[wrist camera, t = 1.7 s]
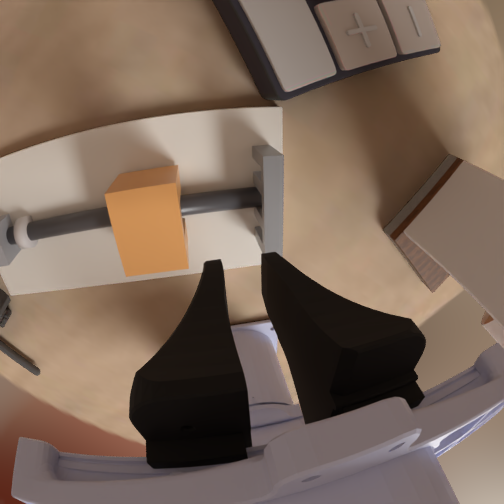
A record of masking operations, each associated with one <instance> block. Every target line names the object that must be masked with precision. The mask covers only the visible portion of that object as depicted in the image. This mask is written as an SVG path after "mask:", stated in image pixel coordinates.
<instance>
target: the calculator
mask: <svg viewBox="0 0 504 504" xmlns="http://www.w3.org/2000/svg"><path fill="white" fill-rule="evenodd" d="M212 1H213V3H214V4H215V6H216V8H217V10H218V11H219V13H220V15H221V17H222V19H223V21H224V22H225V24H226V26H227V28H228V30H229V32H230V34H231V36H232V38H233V40H234V41H235V43H236V45H237V47H238V49H239V51H240V53H241V55H242V57H243V59H244V61H245V63H246V65H247V67H248V69H249V71H250V73H251V75H252V77H253V80H254V82H255V84H256V86H257V88H258V90H259V92H260V94H261V96H262V97H263V98H264V99H266V100H282V101H284V100H288V99H290V98H293V97H295V96H298V95H300V94H303V93H305V92H308V91H310V90H313V89H316V88H318V87H321V86H324V85H326V84H329V83H332V82H335V81H338V80H341V79H343V78H346V77H349V76H352V75H356V74H359V73H362V72H365V71H368V70H372V69H375V68H378V67H382V66H385V65H389V64H392V63H396V62H400V61H404V60H408V59H412V58H416V57H420V56H425V55H429V54H434V53H438V52H439V51H440V46H441V44H440V40H439V37H438V34H437V31H436V28H435V25H434V22H433V20H432V17H431V14H430V12H429V9H428V6H427V4H426V1H425V0H212Z"/></svg>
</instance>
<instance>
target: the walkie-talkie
mask: <svg viewBox="0 0 504 504" xmlns="http://www.w3.org/2000/svg"><path fill="white" fill-rule="evenodd" d="M9 302H10V298H9V296H8V295H7V294H6V293H5V292H4V291H3V290H1V289H0V326H1V327H4V326H5V324H6V322H7V320H8V319H9V317H10V315H11V310H9V309H8V310H6V307H7V306H8V304H9ZM0 350H1V351H2V352H4V353H5V354H6V355H8V356H9V357H10V358H12V359H13V360H14V361H16V362H17V363H19V364H20V365H21V366H23V367H24V368H26V369H27V370H28V371H30V372H31V373H33V374H34V375H39V374H40V369H39V368H38V367H36V366H35V365H33V364H32V363H30V362H29V361H28V360H26V359H25V358H23V357H22V356H21V355H19V354H18V353H16V352H15V351H14V350H12V349H11V348H10V347H9V346H7V345H6V344H5V343H3V342H2V341H1V340H0Z"/></svg>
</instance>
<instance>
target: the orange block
mask: <svg viewBox="0 0 504 504" xmlns="http://www.w3.org/2000/svg"><path fill="white" fill-rule="evenodd" d="M104 195H105V200H106V204H107V208H108V213H109V217H110V221H111V225H112V229H113V233H114V237H115V240H116V244H117V248H118V251H119V255H120V258H121V262H122V265H123V268H124V272H125V275H126V277H128V276H136V275H144V274H152V273H159V272H167V271H175V270H182V269H189V257H188V235H187V228H186V222H185V218H182V215H181V208H180V195H181V184H180V176H179V168H178V165H173V166H166V167H159V168H153V169H146V170H140V171H134V172H128V173H123V174H119V175H118V176H117V178H116V179H115V180H114V182H113V183H112V184H111V186H110V187H109V188H108V190H107V191H106V192H105V194H104Z"/></svg>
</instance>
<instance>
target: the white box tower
mask: <svg viewBox="0 0 504 504" xmlns="http://www.w3.org/2000/svg"><path fill="white" fill-rule="evenodd" d="M383 231H384V232H385V233H386V235H387V236H388V237H389V238H390V240H391V241H392V242H393V243H394V245H395V246H396V247H397V249H398V250H399V251H400V252H401V254H402V255H403V256H404V258H405V259H406V260H407V262H408V263H409V264H410V266H411V267H412V268H413V270H414V271H415V272H416V274H417V275H418V276H419V278H420V279H421V281H422V282H423V283H424V284H425V285H426V286H427V287H428V288H429V289H430V291H431V292H432V293H433V292H434V291H435V290H436V289H437V288H438V287H439V286H440V285H441V284H442V283H443V282H444V281H445V279H446V278H447V277H448V276H449V275H451V276H452V277H453V278H454V279H455V280H456V281H457V282H458V283H459V284H460V285H461V286H462V287H463V288H464V289H465V290H466V291H467V292H468V293H469V294H470V295H471V296H472V297H473V298H474V299H475V300H476V301H477V302H478V303H479V304H480V305H481V306H482V307H483V308H484V309H485V313H484V315H483V318H482V322H481V324H482V325H483V327H484V328H485V329H486V330H487V331H488V332H489V333H490V335H491V336H492V337H493V338H494V339H495V340H496V342H497V343H499V344H500V345H501V346H502V347H503V349H504V180H503V179H501V178H499V177H497V176H495V175H493V174H491V173H489V172H487V171H485V170H483V169H481V168H479V167H477V166H475V165H473V164H471V163H468V162H466V161H464V160H462V159H460V158H457V157H455V156H453V155H450V154H449V155H448V156H447V158H446V159H445V160H444V161H443V162H442V164H441V165H440V166H439V167H438V168H437V170H436V171H435V172H434V173H433V174H432V176H431V177H430V178H429V179H428V180H427V181H426V183H425V184H424V185H423V186H422V187H421V188H420V189H419V191H418V192H417V193H416V194H415V195H414V196H413V197H412V199H411V200H410V201H409V202H408V203H407V204H406V205H405V206H404V208H403V209H402V210H401V211H400V212H399V213H398V214H397V215H396V216H395V217H394V218H393V220H392V221H391V222H390V223H389V224H388V225H387V226H386V227H385V228H384V229H383Z"/></svg>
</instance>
